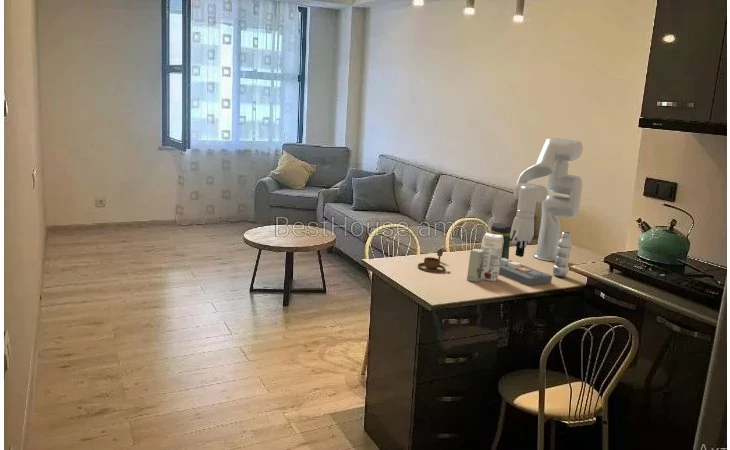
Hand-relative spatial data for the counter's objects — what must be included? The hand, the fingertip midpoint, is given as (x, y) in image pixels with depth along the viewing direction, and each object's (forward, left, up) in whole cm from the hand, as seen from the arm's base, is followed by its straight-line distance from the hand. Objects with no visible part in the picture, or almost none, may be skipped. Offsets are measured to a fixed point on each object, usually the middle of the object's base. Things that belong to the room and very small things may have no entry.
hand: (519, 255), depth 277 cm
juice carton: (+17, 0, -9) cm, 19 cm away
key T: (0, +4, -7) cm, 8 cm away
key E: (0, +10, -7) cm, 12 cm away
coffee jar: (-7, -19, -9) cm, 22 cm away
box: (+25, 0, -9) cm, 27 cm away
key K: (0, -8, -6) cm, 10 cm away
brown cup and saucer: (+29, -20, -10) cm, 36 cm away
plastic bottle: (-20, +7, -9) cm, 23 cm away
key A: (0, -2, -6) cm, 6 cm away
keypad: (0, +1, -9) cm, 9 cm away
